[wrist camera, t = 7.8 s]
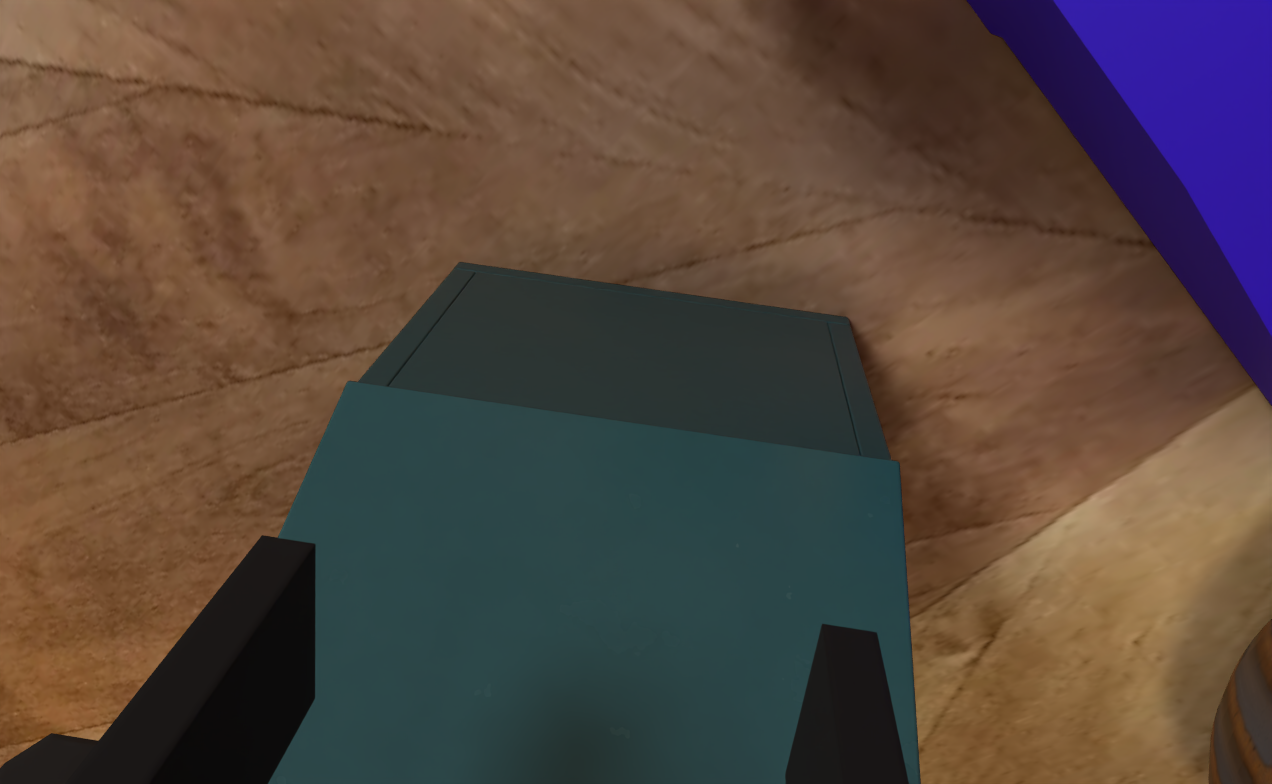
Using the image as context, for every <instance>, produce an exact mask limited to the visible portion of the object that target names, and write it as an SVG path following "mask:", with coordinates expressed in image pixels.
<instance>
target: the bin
mask: <svg viewBox="0 0 1272 784" xmlns="http://www.w3.org/2000/svg"><path fill="white" fill-rule="evenodd" d="M358 382H362V383H368V384H375V385H382V386H389V387H396V388H402V389H409V390H416V391H423V392H430V393H437V394H443V395H450V396H457V397H464V398H471V399H477V400H484V401H491V402H498V403H505V404H511V405H518V406H525V407H532V408H539V409H546V410H552V411H559V412H566V413H573V414H580V415H586V416H593V417H600V418H607V419H614V420H621V421H627V422H634V423H641V424H648V425H655V426H661V427H668V428H675V429H682V430H689V431H695V432H702V433H709V434H716V435H723V436H730V437H736V438H743V439H750V440H757V441H764V442H770V443H777V444H784V445H791V446H798V447H804V448H811V449H818V450H825V451H832V452H839V453H845V454H852V455H859V456H866V457H873V458H879V459H886V460H891V456H890V453H889V450H888V447H887V443H886V440H885V437H884V434H883V430H882V427H881V424H880V421H879V417H878V414H877V411H876V408H875V404H874V401H873V398H872V395H871V391H870V388H869V385H868V382H867V378H866V375H865V372H864V369H863V365H862V362H861V359H860V356H859V352H858V349H857V346H856V343H855V339H854V336H853V333H852V330H851V326H850V323H849V319H848V318H847V317H841V316H834V315H827V314H820V313H813V312H806V311H799V310H792V309H785V308H778V307H771V306H764V305H757V304H750V303H743V302H736V301H729V300H722V299H715V298H708V297H701V296H694V295H687V294H680V293H673V292H666V291H659V290H652V289H645V288H638V287H631V286H624V285H617V284H610V283H603V282H596V281H589V280H582V279H575V278H568V277H561V276H554V275H547V274H540V273H533V272H526V271H519V270H512V269H505V268H498V267H491V266H484V265H477V264H470V263H463V262H459V263H458V264H457V265H456V267H455V268H454V269H453V270H452V272H451V273H450V274H449V275H448V276H447V277H446V279H445V280H444V281H443V282H442V283H441V284H440V286H439V287H438V288H437V289H436V290H435V292H434V293H433V294H432V295H431V296H430V297H429V299H428V300H427V301H426V302H425V303H424V304H423V306H422V307H421V308H420V309H419V310H418V312H417V313H416V314H415V315H414V316H413V317H412V319H411V320H410V321H409V322H408V323H407V324H406V326H405V327H404V328H403V329H402V330H401V332H400V333H399V334H398V335H397V336H396V337H395V339H394V340H393V341H392V342H391V343H390V344H389V346H388V347H387V348H386V349H385V350H384V351H383V353H382V354H381V355H380V356H379V357H378V359H377V360H376V361H375V362H374V363H373V364H372V366H371V367H370V368H369V369H368V370H367V371H366V373H365V374H364V375H363V376H362V377H361V379H360V380H359V381H358Z"/></svg>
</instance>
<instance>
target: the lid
mask: <svg viewBox="0 0 1272 784" xmlns="http://www.w3.org/2000/svg"><path fill="white" fill-rule="evenodd" d="M278 538H282V539H288V540H294V541H301V542H307V543H314V544H316V578H315V700H314V701H313V703H312V705H311V707H310V709H309V710H308V712H307V714H306V716H305V718H304V719H303V721H302V723H301V725H300V727H299V729H298V730H297V732H296V734H295V736H294V738H293V739H292V741H291V743H290V745H289V747H288V748H287V750H286V752H285V754H284V756H283V757H282V759H281V761H280V763H279V765H278V767H277V768H276V770H275V772H274V774H273V776H272V777H271V779H270V781H269V783H268V784H786V780H785V772H786V768H787V764H788V760H789V756H790V752H791V748H792V744H793V740H794V736H795V732H796V728H797V724H798V720H799V715H800V711H801V707H802V703H803V699H804V695H805V691H806V687H807V683H808V679H809V675H810V671H811V667H812V663H813V658H814V654H815V650H816V646H817V642H818V638H819V634H820V630H821V626H822V624H828V625H834V626H840V627H847V628H853V629H859V630H866V631H872V632H877V635H878V639H879V644H880V649H881V653H882V658H883V663H884V668H885V672H886V677H887V682H888V687H889V691H890V696H891V701H892V705H893V710H894V715H895V720H896V724H897V729H898V734H899V739H900V743H901V748H902V753H903V758H904V762H905V767H906V772H907V776H908V781H909V784H921V779H920V764H919V749H918V734H917V718H916V703H915V688H914V673H913V658H912V642H911V627H910V612H909V597H908V582H907V566H906V551H905V536H904V521H903V506H902V490H901V475H900V464H899V462H898V461H893V460H886V459H879V458H873V457H866V456H859V455H852V454H845V453H839V452H832V451H825V450H818V449H811V448H804V447H798V446H791V445H784V444H777V443H770V442H764V441H757V440H750V439H743V438H736V437H730V436H723V435H716V434H709V433H702V432H695V431H689V430H682V429H675V428H668V427H661V426H655V425H648V424H641V423H634V422H627V421H621V420H614V419H607V418H600V417H593V416H586V415H580V414H573V413H566V412H559V411H552V410H546V409H539V408H532V407H525V406H518V405H511V404H505V403H498V402H491V401H484V400H477V399H471V398H464V397H457V396H450V395H443V394H437V393H430V392H423V391H416V390H409V389H402V388H396V387H389V386H382V385H375V384H368V383H362V382H355V381H348V382H347V383H346V386H345V388H344V390H343V392H342V395H341V397H340V399H339V401H338V404H337V406H336V408H335V410H334V413H333V415H332V417H331V419H330V422H329V424H328V426H327V428H326V431H325V433H324V435H323V437H322V439H321V442H320V444H319V446H318V448H317V451H316V453H315V455H314V457H313V460H312V462H311V464H310V466H309V469H308V471H307V473H306V475H305V478H304V480H303V482H302V484H301V487H300V489H299V491H298V493H297V496H296V498H295V500H294V502H293V505H292V507H291V509H290V511H289V514H288V516H287V518H286V520H285V523H284V525H283V527H282V529H281V532H280V534H279V536H278Z"/></svg>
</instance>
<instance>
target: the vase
mask: <svg viewBox="0 0 1272 784" xmlns="http://www.w3.org/2000/svg"><path fill="white" fill-rule="evenodd" d="M1209 784H1272V619H1271V620H1270V621H1269V622H1268V623H1267V624H1266V625H1265V626H1264V627H1263V629H1262V630H1261V631H1260V632H1259V633H1258V635H1257V636H1256V637H1255V638H1254V639H1253V641H1252V642H1251V643H1250V645H1249V646H1248V647H1247V649H1246V650H1245V652H1244V653H1243V655H1242V657H1241V658H1240V660H1239V661H1238V663H1237V665H1236V667H1235V669H1234V671H1233V673H1232V675H1231V677H1230V680H1229V682H1228V684H1227V687H1226V689H1225V692H1224V694H1223V697H1222V699H1221V702H1220V704H1219V707H1218V709H1217V713H1216V716H1215V720H1214V723H1213V728H1212V734H1211V742H1210V758H1209Z"/></svg>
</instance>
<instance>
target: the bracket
mask: <svg viewBox="0 0 1272 784" xmlns="http://www.w3.org/2000/svg"><path fill="white" fill-rule="evenodd" d="M967 2H968V3H969V4H970V6H971V7H972V9H973V10H974V11H975V13H976V14H977V15H978V17H979V18H980V19H981V21H982V22H983V24H984V25H985V26H986V28H987V29H988V30H989V32H990V33H991V34H993V35H996V36H999V37H1002V38H1003V39H1004V40H1005V42H1006V43H1007V45H1008V46H1009V47H1010V49H1011V50H1012V51H1013V53H1014V54H1015V55H1016V57H1017V58H1018V60H1019V61H1020V62H1021V64H1022V65H1023V66H1024V68H1025V69H1026V71H1027V72H1028V73H1029V75H1030V76H1031V77H1032V79H1033V80H1034V81H1035V83H1036V84H1037V86H1038V87H1039V88H1040V90H1041V91H1042V92H1043V94H1044V95H1045V97H1046V98H1047V99H1048V101H1049V102H1050V103H1051V105H1052V106H1053V107H1054V109H1055V110H1056V112H1057V113H1058V114H1059V116H1060V117H1061V118H1062V120H1063V121H1064V122H1065V124H1066V125H1067V127H1068V128H1069V129H1070V131H1071V132H1072V133H1073V135H1074V136H1075V138H1076V139H1077V140H1078V142H1079V143H1080V144H1081V146H1082V147H1083V148H1084V150H1085V151H1086V153H1087V154H1088V155H1089V157H1090V158H1091V159H1092V161H1093V162H1094V164H1095V165H1096V166H1097V168H1098V169H1099V170H1100V172H1101V173H1102V174H1103V176H1104V177H1105V179H1106V180H1107V181H1108V183H1109V184H1110V185H1111V187H1112V188H1113V189H1114V191H1115V192H1116V194H1117V195H1118V196H1119V198H1120V199H1121V200H1122V202H1123V203H1124V205H1125V206H1126V207H1127V209H1128V210H1129V211H1130V213H1131V214H1132V215H1133V217H1134V218H1135V220H1136V221H1137V222H1138V224H1139V225H1140V226H1141V228H1142V229H1143V231H1144V232H1145V233H1146V235H1147V236H1148V237H1149V239H1150V240H1151V241H1152V243H1153V244H1154V246H1155V247H1156V248H1157V250H1158V251H1159V252H1160V254H1161V255H1162V257H1163V258H1164V259H1165V261H1166V262H1167V263H1168V265H1169V266H1170V267H1171V269H1172V270H1173V272H1174V273H1175V274H1176V276H1177V277H1178V278H1179V280H1180V281H1181V282H1182V284H1183V285H1184V287H1185V288H1186V289H1187V291H1188V292H1189V293H1190V295H1191V296H1192V298H1193V299H1194V300H1195V302H1196V303H1197V304H1198V306H1199V307H1200V308H1201V310H1202V311H1203V313H1204V314H1205V315H1206V317H1207V318H1208V319H1209V321H1210V322H1211V324H1212V325H1213V326H1214V328H1215V329H1216V330H1217V332H1218V333H1219V334H1220V336H1221V337H1222V339H1223V340H1224V341H1225V343H1226V344H1227V345H1228V347H1229V348H1230V349H1231V351H1232V352H1233V354H1234V355H1235V356H1236V358H1237V359H1238V360H1239V362H1240V363H1241V365H1242V366H1243V367H1244V369H1245V370H1246V371H1247V373H1248V374H1249V375H1250V377H1251V378H1252V380H1253V381H1254V382H1255V384H1256V385H1257V386H1258V388H1259V389H1260V391H1261V392H1262V393H1263V395H1264V396H1265V397H1266V399H1267V400H1268V401H1269V403H1270V404H1271V406H1272V0H967Z"/></svg>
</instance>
